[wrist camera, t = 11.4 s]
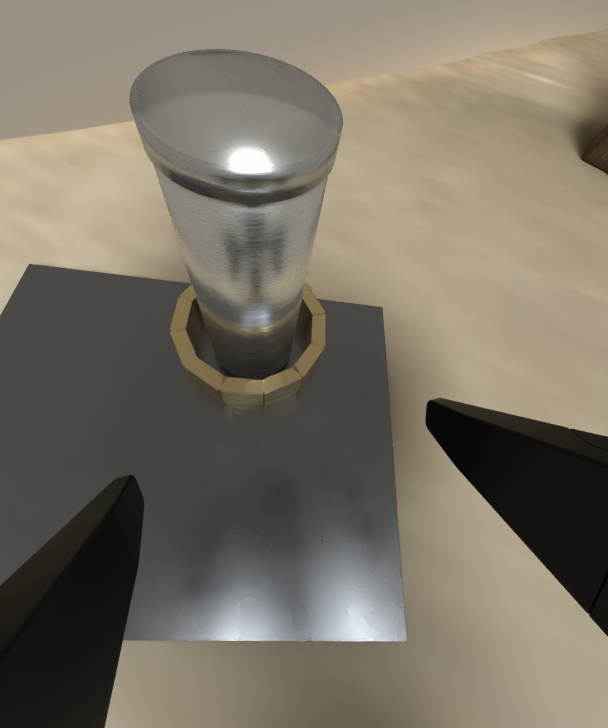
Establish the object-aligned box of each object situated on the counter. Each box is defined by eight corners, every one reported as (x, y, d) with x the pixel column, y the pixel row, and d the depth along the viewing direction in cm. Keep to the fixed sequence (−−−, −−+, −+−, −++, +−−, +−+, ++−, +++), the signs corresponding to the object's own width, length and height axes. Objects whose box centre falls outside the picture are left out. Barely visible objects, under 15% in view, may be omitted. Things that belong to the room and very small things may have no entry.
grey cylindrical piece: (274, 393, 18) (301, 202, 6) (196, 361, 18) (79, 116, 6) (304, 326, 20) (365, 91, 8) (234, 298, 20) (198, 29, 9)
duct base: (399, 634, 15) (434, 669, 12) (-154, 630, 12) (-287, 673, 9) (378, 310, 23) (396, 281, 20) (39, 268, 20) (1, 229, 17)
